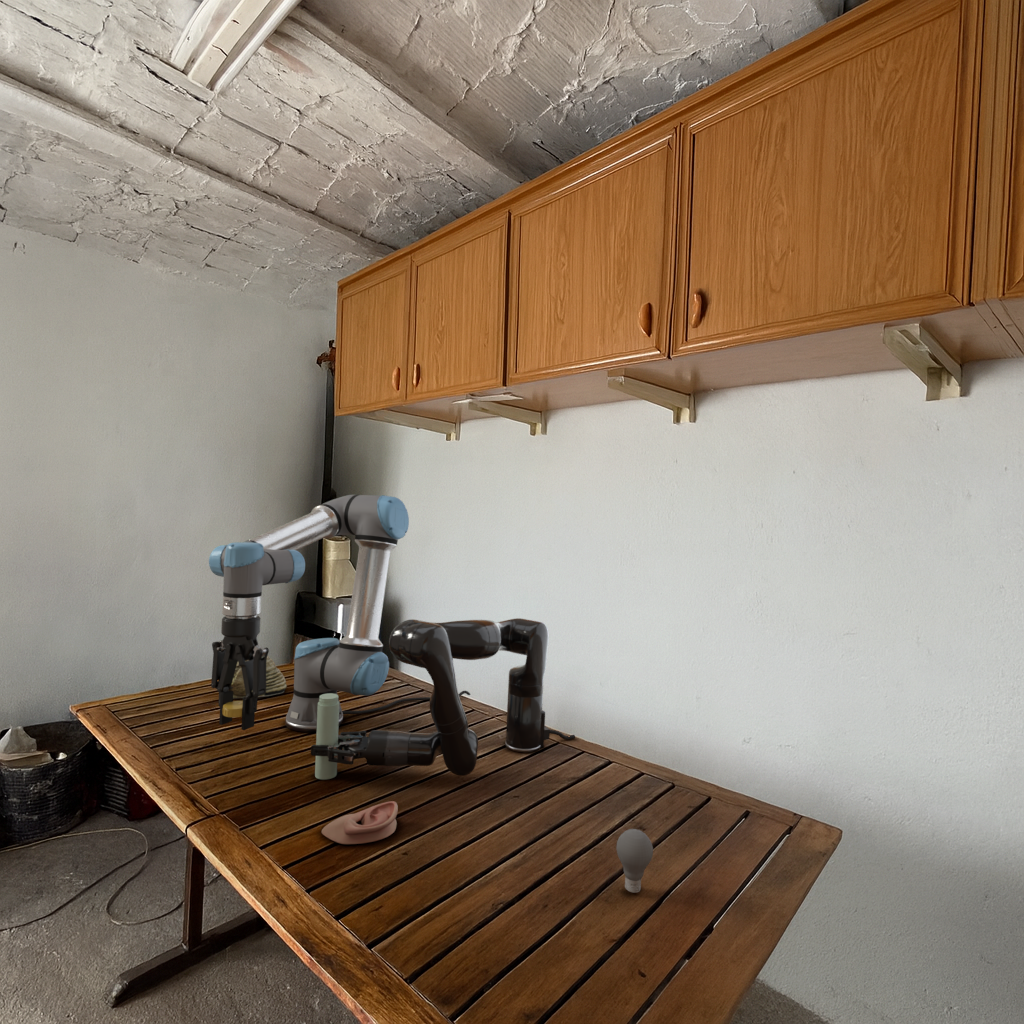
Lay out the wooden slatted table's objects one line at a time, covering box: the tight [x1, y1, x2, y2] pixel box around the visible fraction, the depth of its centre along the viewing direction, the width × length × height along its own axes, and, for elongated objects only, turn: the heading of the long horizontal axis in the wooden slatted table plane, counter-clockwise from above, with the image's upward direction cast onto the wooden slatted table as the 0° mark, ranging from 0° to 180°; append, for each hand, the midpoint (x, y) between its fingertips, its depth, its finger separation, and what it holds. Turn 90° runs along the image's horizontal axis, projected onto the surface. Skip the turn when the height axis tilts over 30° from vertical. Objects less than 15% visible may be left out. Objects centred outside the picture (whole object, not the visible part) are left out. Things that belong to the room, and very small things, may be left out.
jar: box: [314, 693, 340, 781], centre depth 144 cm, size 5×5×18 cm
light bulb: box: [615, 828, 654, 894], centre depth 106 cm, size 6×6×10 cm
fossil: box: [229, 654, 288, 699], centre depth 198 cm, size 9×18×15 cm, turn 132°
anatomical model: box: [321, 800, 399, 845], centre depth 121 cm, size 13×4×12 cm
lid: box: [222, 700, 243, 718], centre depth 134 cm, size 6×6×2 cm
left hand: (236, 725), depth 134 cm, fingers closed on lid, 5 cm apart
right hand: (315, 745), depth 144 cm, fingers closed on jar, 4 cm apart
